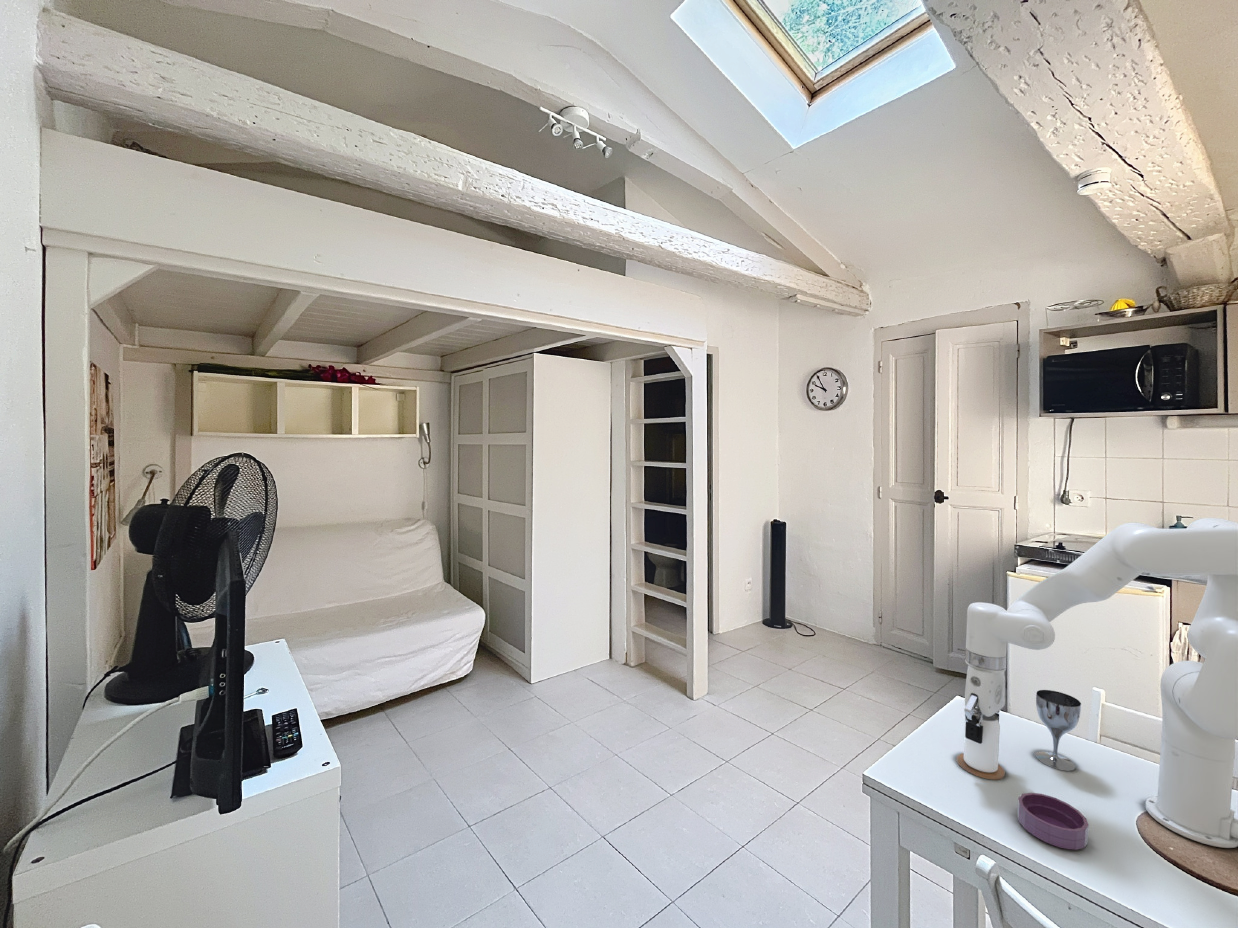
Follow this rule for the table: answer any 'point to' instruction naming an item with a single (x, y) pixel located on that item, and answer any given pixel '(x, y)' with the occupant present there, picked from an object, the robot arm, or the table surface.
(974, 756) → the can
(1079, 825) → the dish
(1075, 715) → the wine glass
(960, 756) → the coaster
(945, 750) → the table surface
